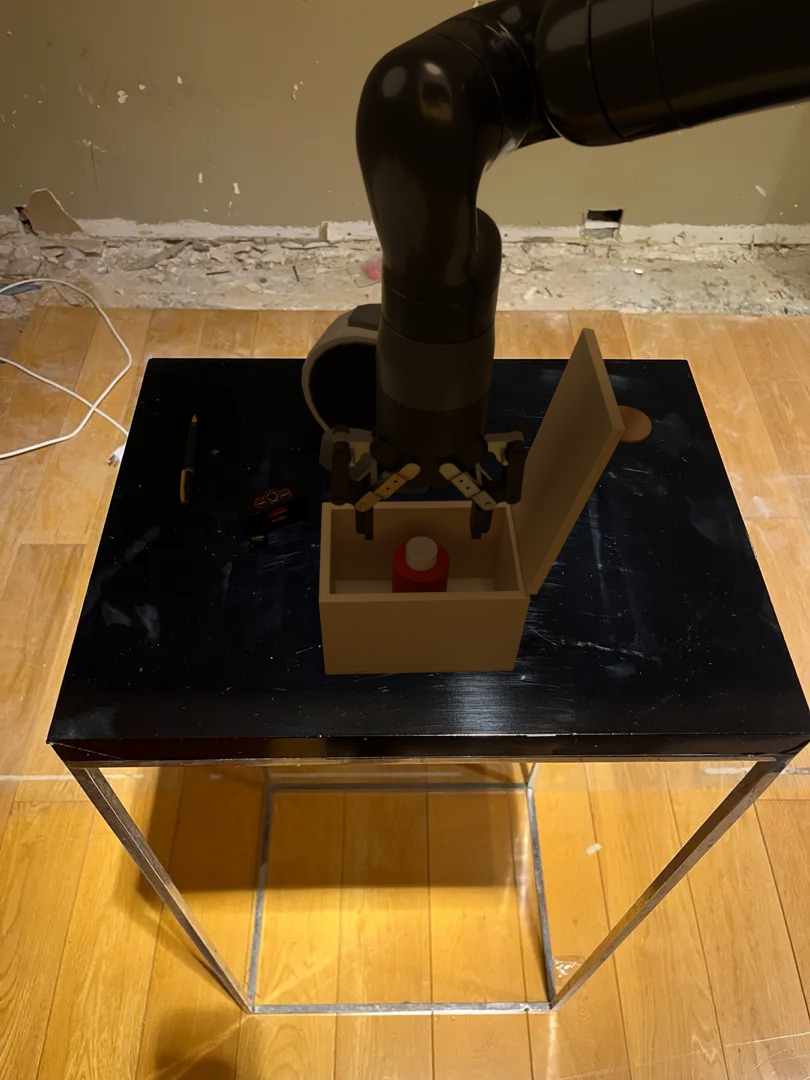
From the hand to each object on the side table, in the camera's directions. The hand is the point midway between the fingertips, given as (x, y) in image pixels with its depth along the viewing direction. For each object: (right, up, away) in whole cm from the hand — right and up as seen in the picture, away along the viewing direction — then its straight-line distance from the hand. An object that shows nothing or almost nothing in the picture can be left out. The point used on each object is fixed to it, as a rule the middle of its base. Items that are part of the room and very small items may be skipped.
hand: (422, 531), depth 66 cm
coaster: (+24, +13, +28) cm, 39 cm away
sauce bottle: (0, -8, +9) cm, 12 cm away
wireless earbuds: (-15, +1, +17) cm, 23 cm away
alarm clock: (-4, +8, +24) cm, 26 cm away
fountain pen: (-24, +8, +23) cm, 34 cm away
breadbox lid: (+10, +5, -5) cm, 12 cm away
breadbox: (0, -8, +10) cm, 13 cm away
